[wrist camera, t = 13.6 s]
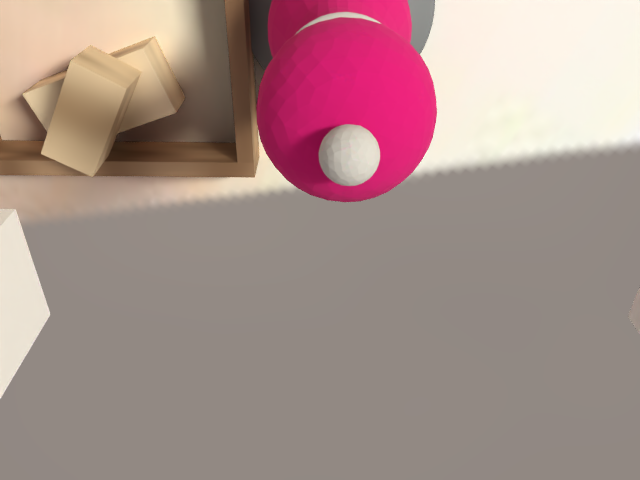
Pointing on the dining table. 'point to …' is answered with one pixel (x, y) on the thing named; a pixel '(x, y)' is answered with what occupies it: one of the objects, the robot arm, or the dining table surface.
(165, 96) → the offcut lower
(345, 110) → the pepper mill
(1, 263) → the robot arm
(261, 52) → the coaster
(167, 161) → the frame
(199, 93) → the dining table surface
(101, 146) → the offcut upper
